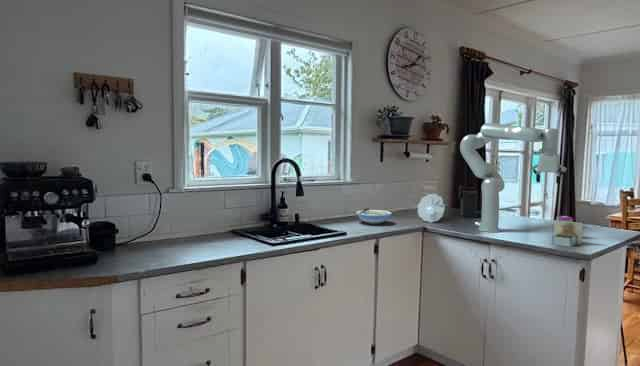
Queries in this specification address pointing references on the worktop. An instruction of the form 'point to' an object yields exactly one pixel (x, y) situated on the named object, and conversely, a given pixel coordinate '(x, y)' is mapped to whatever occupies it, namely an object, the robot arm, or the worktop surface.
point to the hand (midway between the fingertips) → (547, 182)
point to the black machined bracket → (468, 202)
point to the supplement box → (565, 218)
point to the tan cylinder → (564, 231)
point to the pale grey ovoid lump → (431, 208)
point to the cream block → (574, 233)
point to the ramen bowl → (373, 216)
